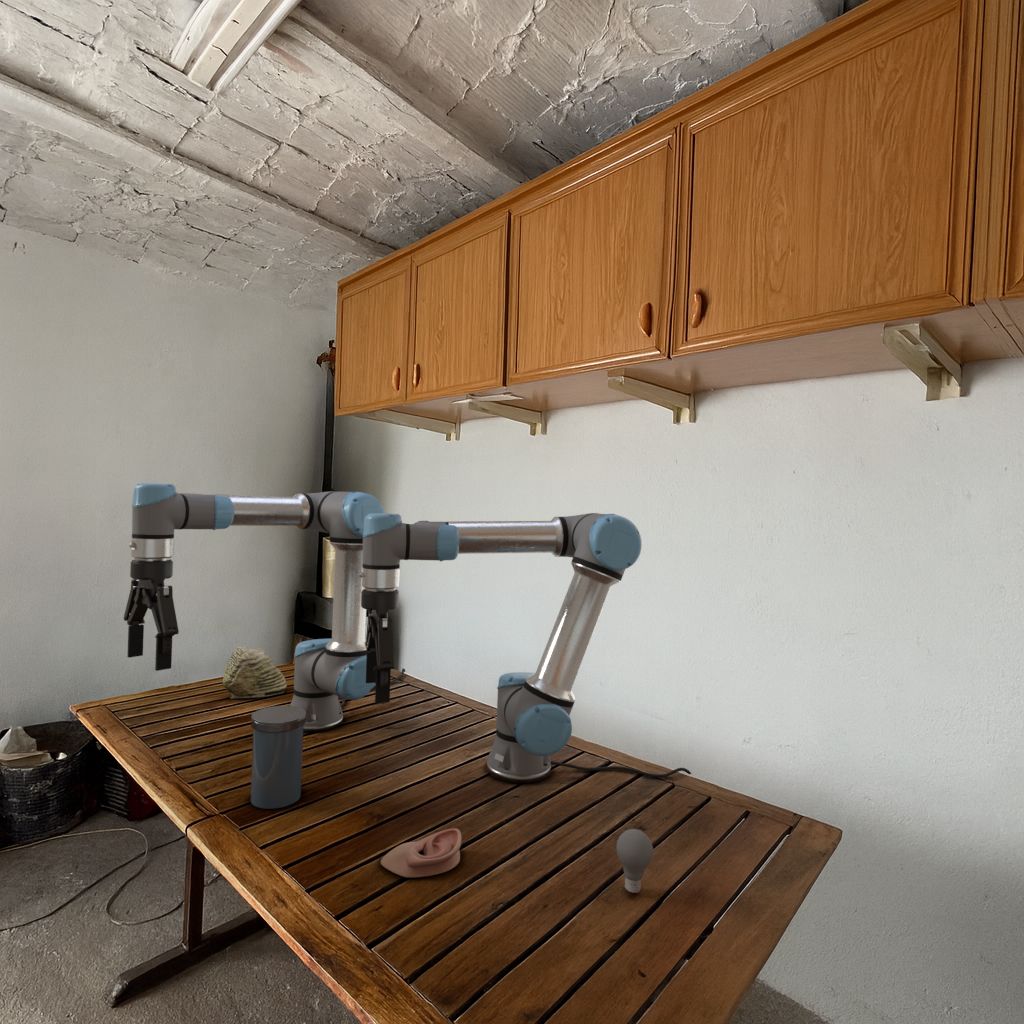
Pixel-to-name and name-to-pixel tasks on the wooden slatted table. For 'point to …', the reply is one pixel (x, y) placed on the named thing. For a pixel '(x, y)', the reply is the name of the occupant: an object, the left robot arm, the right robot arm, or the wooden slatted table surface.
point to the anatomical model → (425, 855)
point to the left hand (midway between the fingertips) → (148, 662)
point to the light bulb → (634, 857)
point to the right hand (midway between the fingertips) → (377, 692)
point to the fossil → (252, 674)
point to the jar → (276, 768)
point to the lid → (278, 719)
